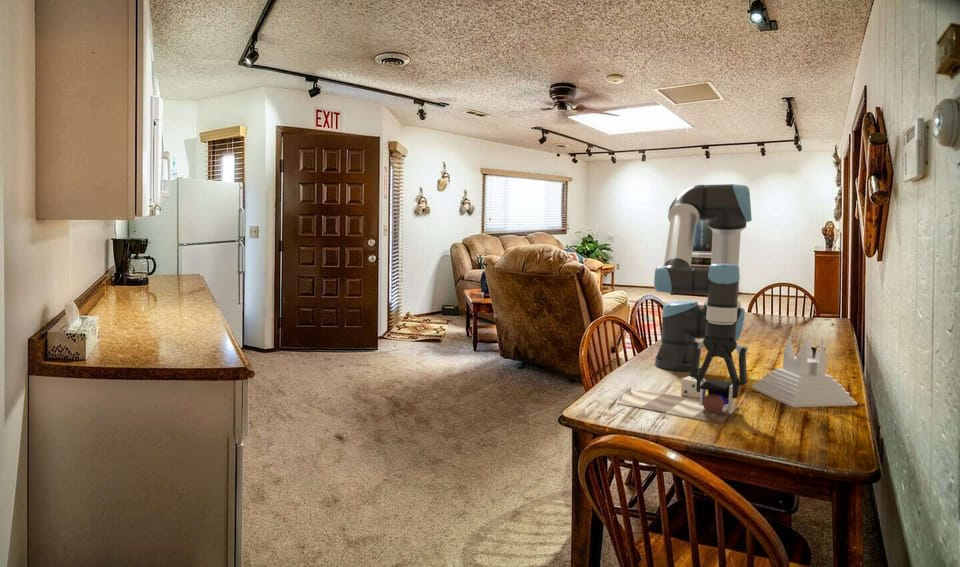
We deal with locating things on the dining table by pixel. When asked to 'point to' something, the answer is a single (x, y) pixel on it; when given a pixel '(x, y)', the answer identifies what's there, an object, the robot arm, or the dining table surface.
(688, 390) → the die
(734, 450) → the dining table surface
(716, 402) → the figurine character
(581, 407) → the dining table surface
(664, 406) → the board
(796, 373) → the castle model
